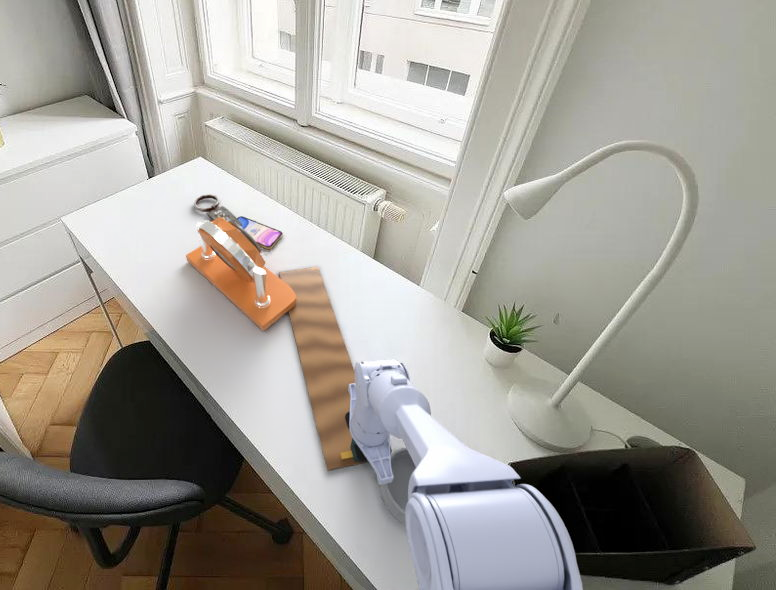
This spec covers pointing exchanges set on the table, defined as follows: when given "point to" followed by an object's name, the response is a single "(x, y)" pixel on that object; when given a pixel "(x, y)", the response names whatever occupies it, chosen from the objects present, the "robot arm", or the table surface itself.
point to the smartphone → (261, 232)
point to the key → (350, 453)
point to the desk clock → (240, 271)
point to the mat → (322, 362)
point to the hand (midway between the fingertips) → (362, 450)
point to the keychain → (216, 210)
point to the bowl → (398, 484)
